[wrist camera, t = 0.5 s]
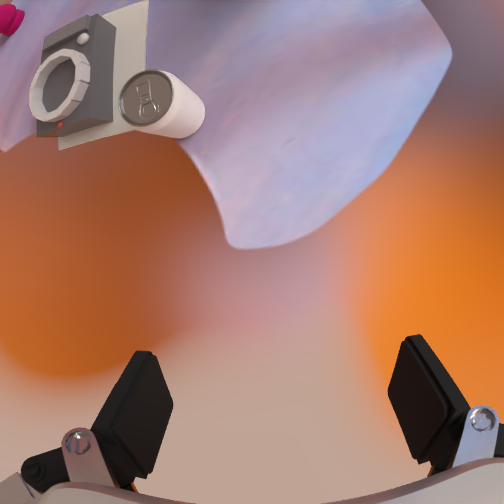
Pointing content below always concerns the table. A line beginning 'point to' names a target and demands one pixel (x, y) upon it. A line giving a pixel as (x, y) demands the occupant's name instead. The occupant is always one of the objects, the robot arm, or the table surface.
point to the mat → (119, 69)
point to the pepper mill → (10, 19)
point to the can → (160, 105)
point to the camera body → (75, 78)
